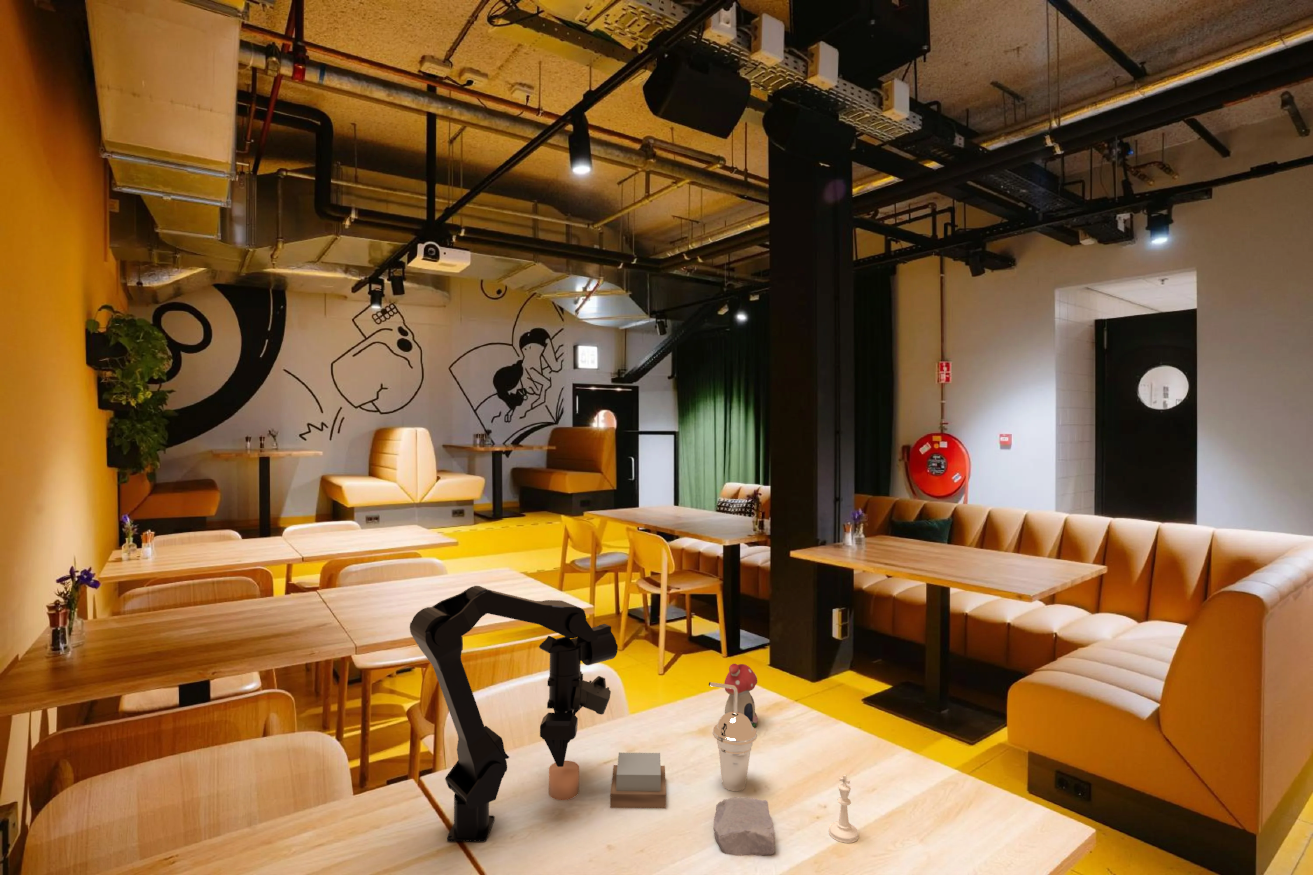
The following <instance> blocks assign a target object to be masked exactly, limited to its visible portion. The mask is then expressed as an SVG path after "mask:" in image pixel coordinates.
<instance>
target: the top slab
mask: <svg viewBox="0 0 1313 875" xmlns="http://www.w3.org/2000/svg"><path fill="white" fill-rule="evenodd" d="M617 765H618V766H617V781H616V791H661V766H662V765H661V752H618V758H617Z"/></svg>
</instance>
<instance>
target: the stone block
mask: <svg viewBox="0 0 1313 875" xmlns="http://www.w3.org/2000/svg"><path fill="white" fill-rule="evenodd" d="M769 809H770V808H769V802H768V800H767V799H757V798H751V797H745V796H742V797H741V796H739V797H738V796H734V797H730V798H725V799H722V801H719V802H718V803H717V804H716V806H715V813H714V816H713V817H714V818H713V824H712V825H713V826H712V828H713V831H714V836H715V841H716V843H717V844H718V846H719V847H720V849H721V851H722V852H723V853H724V854H727V855H731V856H738V857H739V856H740V857H741V856H765V855H766V856H772V855H773V856H774V854H775V850H776V849H775V844H776V835H775V834H776V832H775V827H774V822H773V819H772V817H771V814H770V810H769Z"/></svg>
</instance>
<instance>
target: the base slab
mask: <svg viewBox="0 0 1313 875" xmlns="http://www.w3.org/2000/svg"><path fill="white" fill-rule="evenodd" d="M617 766H618V764H613V766H612V767H613V768H612V776H611V784H610V798H609V799H610V802H609V804H610V805H609V808H610V809H614V808H615V809H667V786H666V785H667V784H666V766H665V765H661V791H616V781H617Z"/></svg>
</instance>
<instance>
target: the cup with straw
mask: <svg viewBox="0 0 1313 875" xmlns="http://www.w3.org/2000/svg"><path fill="white" fill-rule="evenodd" d="M708 687H715V688H723V689H725V688H729V689H733V690H734V711H733V712H728V713H726V714H725V713H724V714H723V715H722V716H721V717H720V719H718V722H717V723H716V724H715V725H714V726H713V729H712V736H713V738H714V739H715V740H716V744H717V748H718V756H719V764H720V775H721V776H720V777H721V785H722V787H723V788H724V789H725V790H728V791H730V792H740V791H743V790H744V789H745V788H746V786H747V785H746V784H747V783H746V782H747V779H748V773H749V772H748V771H749V763H750V756H751V751H752V747H753V744H754V743H753V742H755V741H756V740H757V739H758V734H757V730H756V727H755V728H754V727H753V726H752V724H751V722H750V720H749V719H748V718H747V716H745V715H744V714H742V713H740V712H737V696H738V691H737V688H736V687H735V686H734V685H728V684H724V683H718V682H711V681H709V683H708Z"/></svg>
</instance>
